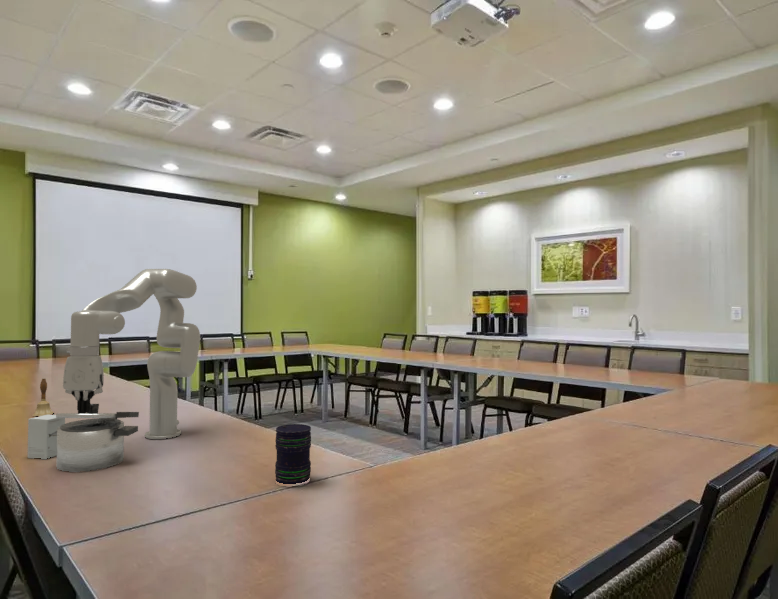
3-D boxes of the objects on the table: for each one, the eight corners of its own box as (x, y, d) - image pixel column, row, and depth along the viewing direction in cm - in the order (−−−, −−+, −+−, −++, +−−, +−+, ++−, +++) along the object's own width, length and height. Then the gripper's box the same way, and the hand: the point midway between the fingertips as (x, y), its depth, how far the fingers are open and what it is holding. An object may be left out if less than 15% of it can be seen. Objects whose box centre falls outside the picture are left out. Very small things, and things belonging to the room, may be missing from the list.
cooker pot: (81, 453, 171) (82, 416, 171) (148, 453, 171) (148, 417, 171) (42, 471, 152) (43, 430, 152) (117, 472, 151) (118, 431, 152)
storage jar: (316, 477, 148) (317, 425, 148) (300, 489, 139) (300, 433, 139) (286, 474, 152) (286, 422, 152) (267, 484, 142) (268, 430, 142)
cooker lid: (79, 416, 170) (81, 403, 171) (147, 417, 170) (149, 404, 171) (41, 417, 152) (43, 403, 152) (118, 418, 152) (119, 403, 152)
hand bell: (27, 416, 226) (27, 379, 226) (44, 412, 234) (45, 377, 234) (41, 417, 224) (42, 380, 224) (59, 413, 231) (59, 378, 232)
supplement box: (46, 459, 163) (47, 419, 163) (26, 458, 165) (27, 418, 165) (65, 453, 170) (66, 414, 171) (46, 452, 172) (46, 413, 172)
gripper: (52, 352, 153) (50, 415, 153) (102, 353, 153) (101, 415, 153) (68, 350, 161) (66, 410, 160) (116, 351, 161) (114, 410, 160)
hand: (83, 412), depth 157 cm, fingers closed
